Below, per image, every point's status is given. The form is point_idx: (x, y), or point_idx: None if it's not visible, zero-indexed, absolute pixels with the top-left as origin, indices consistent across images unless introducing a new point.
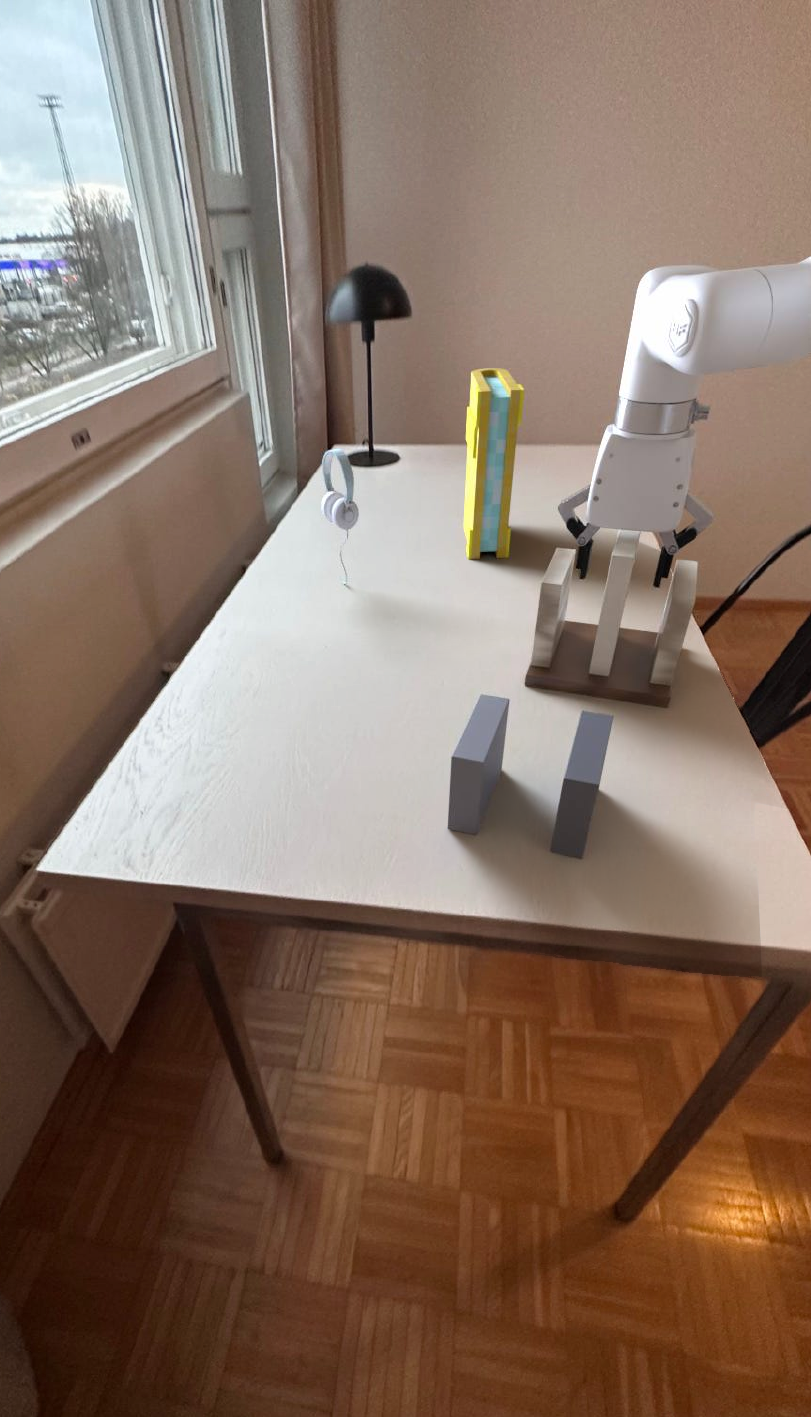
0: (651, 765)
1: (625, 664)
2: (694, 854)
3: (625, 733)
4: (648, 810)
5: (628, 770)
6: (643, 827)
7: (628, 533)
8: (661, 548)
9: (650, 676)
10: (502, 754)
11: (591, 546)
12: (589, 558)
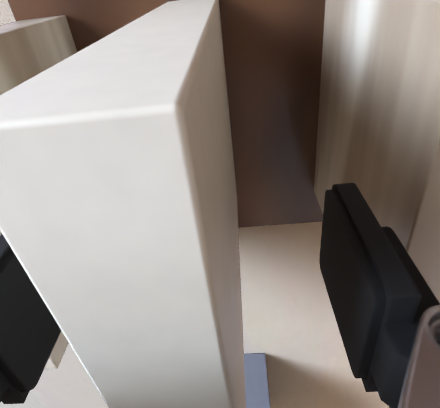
0: (319, 314)
1: (260, 141)
2: (355, 384)
3: (283, 276)
4: (316, 361)
5: (293, 326)
6: (312, 375)
7: (146, 363)
8: (369, 290)
9: (314, 169)
10: None
11: (15, 364)
12: (42, 306)
